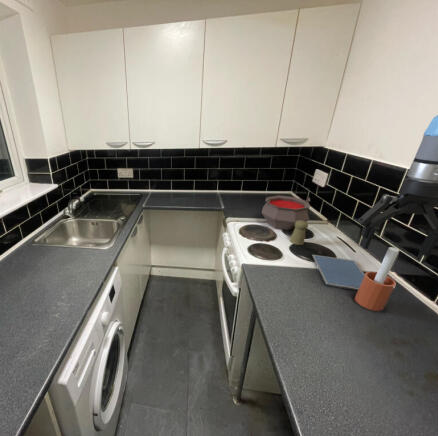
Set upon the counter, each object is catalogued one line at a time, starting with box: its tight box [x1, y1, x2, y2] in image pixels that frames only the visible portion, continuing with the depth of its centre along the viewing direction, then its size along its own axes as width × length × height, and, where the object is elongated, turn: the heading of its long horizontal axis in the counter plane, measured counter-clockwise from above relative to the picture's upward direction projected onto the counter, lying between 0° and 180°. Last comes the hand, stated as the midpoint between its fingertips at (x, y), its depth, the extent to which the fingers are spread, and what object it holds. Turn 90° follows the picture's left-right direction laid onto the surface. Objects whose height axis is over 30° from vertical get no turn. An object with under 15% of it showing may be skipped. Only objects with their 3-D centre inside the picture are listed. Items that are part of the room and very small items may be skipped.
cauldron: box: [261, 194, 311, 231], centre depth 126 cm, size 24×24×16 cm
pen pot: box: [354, 271, 397, 312], centre depth 73 cm, size 7×7×10 cm
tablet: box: [311, 254, 365, 292], centre depth 89 cm, size 15×20×1 cm
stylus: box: [374, 246, 400, 284], centre depth 71 cm, size 2×2×20 cm
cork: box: [289, 220, 309, 246], centre depth 110 cm, size 6×6×11 cm
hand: (392, 250), depth 67 cm, fingers open, 13 cm apart
